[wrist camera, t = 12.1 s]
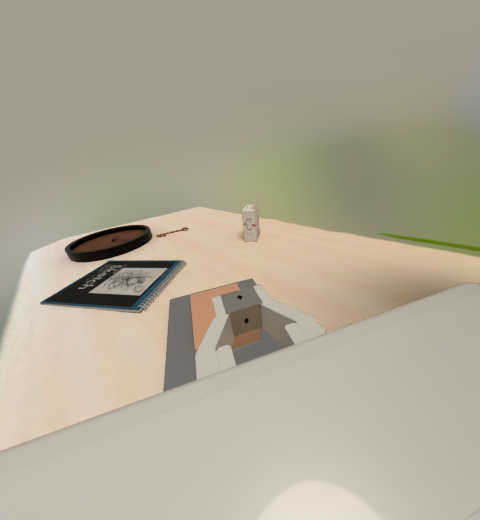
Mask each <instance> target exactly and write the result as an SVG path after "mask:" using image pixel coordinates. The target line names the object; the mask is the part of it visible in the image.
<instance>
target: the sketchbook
mask: <svg viewBox="0 0 480 520" xmlns="http://www.w3.org/2000/svg"><path fill="white" fill-rule="evenodd" d="M184 264H185V265H186V262H185V261H108V262H107V263H105V264H103V265H102V266H100V267H98V268H97V269H95V270H93V271H92V272H90V273H88V274H87V275H85V276H84V277H82V278H80V279H79V280H77V281H75V282H74V283H72V284H70V285H69V286H67V287H65V288H64V289H62V290H60V291H59V292H57V293H55V294H54V295H52V296H50V297H49V298H47V299H45V300H44V301H42V302H41V305H51V306H63V307H74V308H86V309H97V310H110V311H120V312H132V313H141V312H142V310H143V309H145V307H146V309H145V311H146V310H147V305H148V307H149V306H150V305H149V303H150V302H151V304H152V301H151V300H152V299H153V302H154V297H155V299H156V295H157V297H158V293H159V295H160V290H161V292H162V288H163V290H164V286H165V288H166V284H167V286H168V282H169V280H170V282H171V278H172V280H173V276H174V275H175V277H176V273H177V272H178V273H179V272H180V271H179V270H180V268H181V267H182V268H181V270H182V269H183V265H184ZM178 273H177V274H178ZM170 282H169V284H170Z"/></svg>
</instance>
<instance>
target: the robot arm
mask: <svg viewBox="0 0 480 520" xmlns="http://www.w3.org/2000/svg"><path fill="white" fill-rule="evenodd" d="M212 301H213V306H214V310H215V314H216V318H214V319H213V321H212V323H211V325H210V327H209V328H208V330H207V332H206V334H205V336H204V338H203V340H202V342H201V344H200V346H199V348H198V350H197V352H196V354H195V360H196V374H197V380H195V381H192V382H189V383H187V384H184V385H181V386H178V387H176V388H173V389H170V390H167V391H165V392H162V393H159V394H156V395H154V396H151V397H148V398H145V399H143V400H140V401H137V402H134V403H131V404H129V405H126V406H123V407H120V408H118V409H115V410H112V411H109V412H107V413H104V414H101V415H98V416H96V417H93V418H90V419H87V420H85V421H82V422H79V423H76V424H74V425H71V426H68V427H65V428H63V429H60V430H57V431H54V432H52V433H49V434H46V435H43V436H41V437H38V438H35V439H32V440H30V441H27V442H24V443H21V444H19V445H16V446H13V447H10V448H8V449H5V450H2V451H0V520H480V284H475V283H463V284H460V285H456V286H454V287H451V288H448V289H446V290H443V291H440V292H438V293H435V294H432V295H429V296H427V297H424V298H421V299H418V300H416V301H413V302H410V303H407V304H405V305H402V306H399V307H396V308H394V309H391V310H388V311H385V312H382V313H380V314H377V315H374V316H371V317H369V318H366V319H363V320H360V321H358V322H355V323H352V324H349V325H347V326H344V327H341V328H338V329H335V330H333V331H330V332H327V333H326V332H325V330H324V329H323V328H322V327H321V326H320V325H319V323H318V322H317V321H316V320H315V319H314V318H313V317H312V316H311V315H309V314H306V313H304V312H301V311H299V310H297V309H294V308H292V307H290V306H287V305H285V304H283V303H280V302H278V301H276V300H271V298H270V297H269V296H268V294H267V293H266V291H265V290H264V288H263V287H262V285H261V284H258V285H255V286H252V287H249V288H245V289H242V290H238V291H234V292H231V293H227V294H223V295H221V296H220V295H219V296H215V297H212ZM260 328H262V329H264V330H265V331H266V332H268V333H269V334H271V335H272V336H274V337H275V338H276V339H278V340H279V341H281V342H282V343H283V344H285V346H284V348H283V349H280V350H278V351H275V352H272V353H269V354H267V355H264V356H261V357H258V358H256V359H253V360H250V361H247V362H245V363H242V364H239V365H236V363H235V359H234V356H233V352H232V349H231V348H232V344H233V340H234V337H236V336H239V335H241V334H244V333H247V332H250V331H253V330H257V329H260Z"/></svg>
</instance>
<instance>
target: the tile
mask: <svg viewBox="0 0 480 520" xmlns="http://www.w3.org/2000/svg"><path fill="white" fill-rule="evenodd" d="M238 290H240V289H239V287H238V285H237V283H235V284H231V285H227V286H223V287H219V288H216V289H212V290H208V291H204V292H200V293H196V294H193V295H190V299H191V311H192V323H193V334H194V346H195V352H197V350H198V348H199V346H200V344H201V342H202V340H203V338H204V336H205V334H206V332H207V330H208V328H209V327H210V325H211V323H212V321H213V319H214V318H216V314H215V310H214V306H213V301H212V297H215V296H219V295H220V296H221V295H223V294H227V293H231V292H234V291H238ZM257 342H260V329H257V330H253V331H250V332H247V333H244V334H241V335H239V336H236V337H234V340H233V344H232V348H231V349H232V351H233V350H236V349H239V348H242V347H245V346H248V345H251V344H254V343H257Z"/></svg>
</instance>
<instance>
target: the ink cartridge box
mask: <svg viewBox="0 0 480 520" xmlns="http://www.w3.org/2000/svg"><path fill="white" fill-rule="evenodd" d="M255 202H256V204H255ZM253 204H254V205H247V206H245V207H244V209H243V210H242V219H243V228H244V238H245V242H254V241H257V240H258V237H259V233H260V231H259V210H258V200H257V197H256V198H255V199H254V201H253Z"/></svg>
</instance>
